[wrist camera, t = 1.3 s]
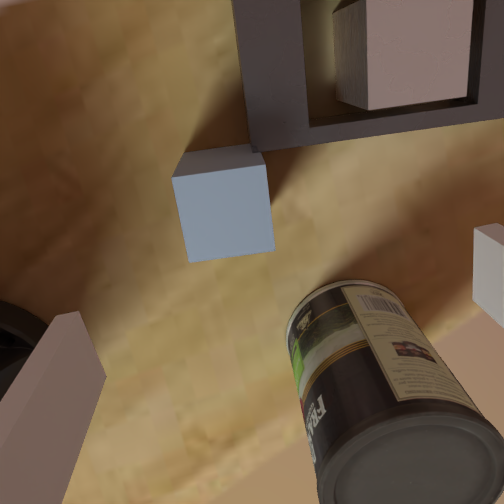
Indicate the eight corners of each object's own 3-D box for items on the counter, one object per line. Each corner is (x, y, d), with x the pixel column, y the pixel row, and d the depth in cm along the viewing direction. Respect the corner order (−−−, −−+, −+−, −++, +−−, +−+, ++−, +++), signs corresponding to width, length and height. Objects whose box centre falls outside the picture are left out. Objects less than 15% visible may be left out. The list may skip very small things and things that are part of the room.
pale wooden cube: (336, 99, 28) (368, 110, 22) (332, 13, 26) (366, -4, 20) (411, 88, 28) (466, 96, 22) (413, 1, 26) (474, -19, 20)
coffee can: (294, 391, 38) (328, 562, 25) (277, 290, 34) (308, 432, 21) (410, 372, 37) (506, 533, 25) (407, 268, 33) (521, 396, 20)
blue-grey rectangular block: (197, 221, 31) (189, 262, 24) (183, 152, 29) (171, 177, 22) (265, 212, 31) (275, 250, 24) (257, 142, 29) (265, 164, 22)
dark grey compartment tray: (249, 143, 29) (252, 153, 26) (229, -11, 25) (229, -23, 22) (693, 80, 29) (751, 82, 25) (737, -84, 25) (812, -106, 22)
